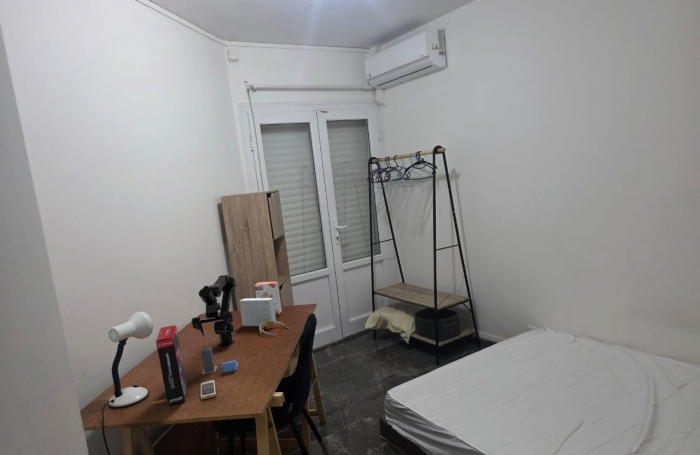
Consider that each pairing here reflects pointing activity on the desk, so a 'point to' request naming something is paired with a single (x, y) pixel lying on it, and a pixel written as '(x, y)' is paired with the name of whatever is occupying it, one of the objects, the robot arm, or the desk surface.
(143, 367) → the desk surface
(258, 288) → the cracker box
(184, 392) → the graphics card box
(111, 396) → the desk surface
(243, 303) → the skincare box
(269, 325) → the sunglasses
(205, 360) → the tall grey square pillar
